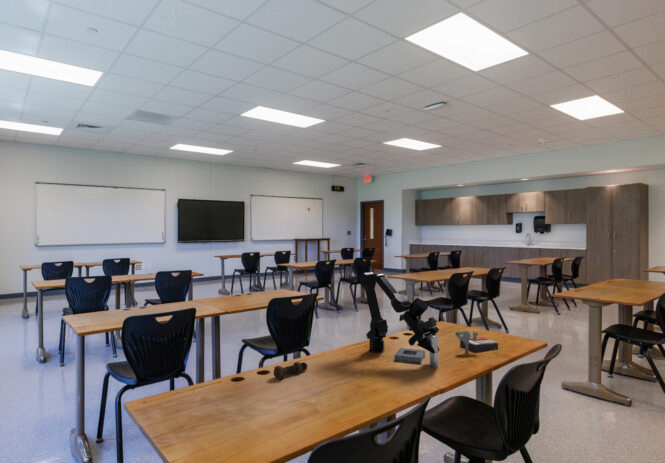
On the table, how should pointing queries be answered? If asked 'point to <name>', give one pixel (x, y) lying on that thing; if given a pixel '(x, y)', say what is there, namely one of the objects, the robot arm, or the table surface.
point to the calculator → (479, 344)
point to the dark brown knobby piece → (289, 370)
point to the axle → (434, 343)
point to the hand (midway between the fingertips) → (436, 351)
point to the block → (409, 355)
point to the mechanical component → (466, 337)
